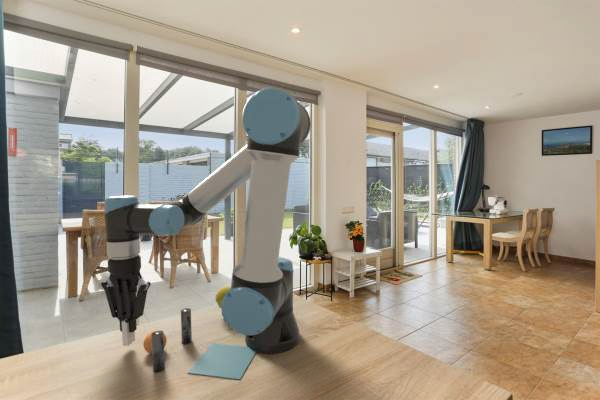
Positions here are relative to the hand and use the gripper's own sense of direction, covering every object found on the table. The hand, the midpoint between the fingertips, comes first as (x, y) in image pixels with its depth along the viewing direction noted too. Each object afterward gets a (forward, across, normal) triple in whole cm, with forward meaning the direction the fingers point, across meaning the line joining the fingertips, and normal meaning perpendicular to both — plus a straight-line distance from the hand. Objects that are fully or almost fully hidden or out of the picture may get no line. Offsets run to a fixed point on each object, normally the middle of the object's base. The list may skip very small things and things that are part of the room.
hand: (129, 342), depth 85 cm
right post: (+2, -13, -6) cm, 15 cm away
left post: (+2, -13, +6) cm, 15 cm away
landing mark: (+2, -27, 0) cm, 27 cm away
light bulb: (+2, -18, -22) cm, 29 cm away
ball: (-1, -8, 0) cm, 8 cm away
